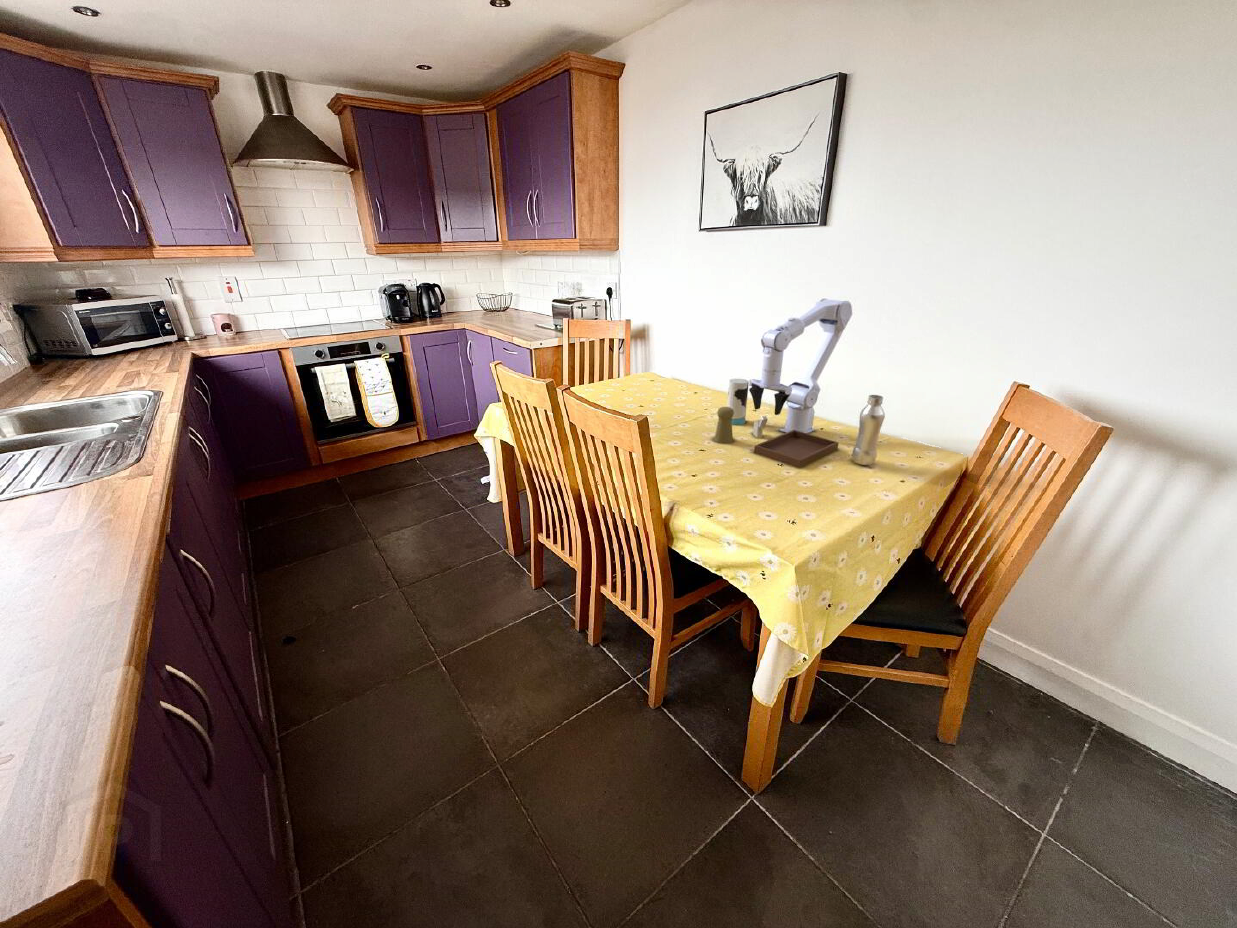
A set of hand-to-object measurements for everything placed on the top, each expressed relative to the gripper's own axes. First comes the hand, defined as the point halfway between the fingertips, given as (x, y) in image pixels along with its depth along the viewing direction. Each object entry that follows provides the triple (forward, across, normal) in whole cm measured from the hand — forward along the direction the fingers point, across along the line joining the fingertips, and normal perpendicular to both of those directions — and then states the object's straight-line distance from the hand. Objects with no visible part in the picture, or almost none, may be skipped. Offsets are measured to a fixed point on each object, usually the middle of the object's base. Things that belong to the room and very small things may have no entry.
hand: (767, 411), depth 161 cm
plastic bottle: (+10, +31, +4) cm, 33 cm away
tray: (+9, +13, -2) cm, 16 cm away
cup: (+10, -17, +7) cm, 21 cm away
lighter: (+10, -2, 0) cm, 10 cm away
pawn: (+10, -8, -11) cm, 17 cm away
